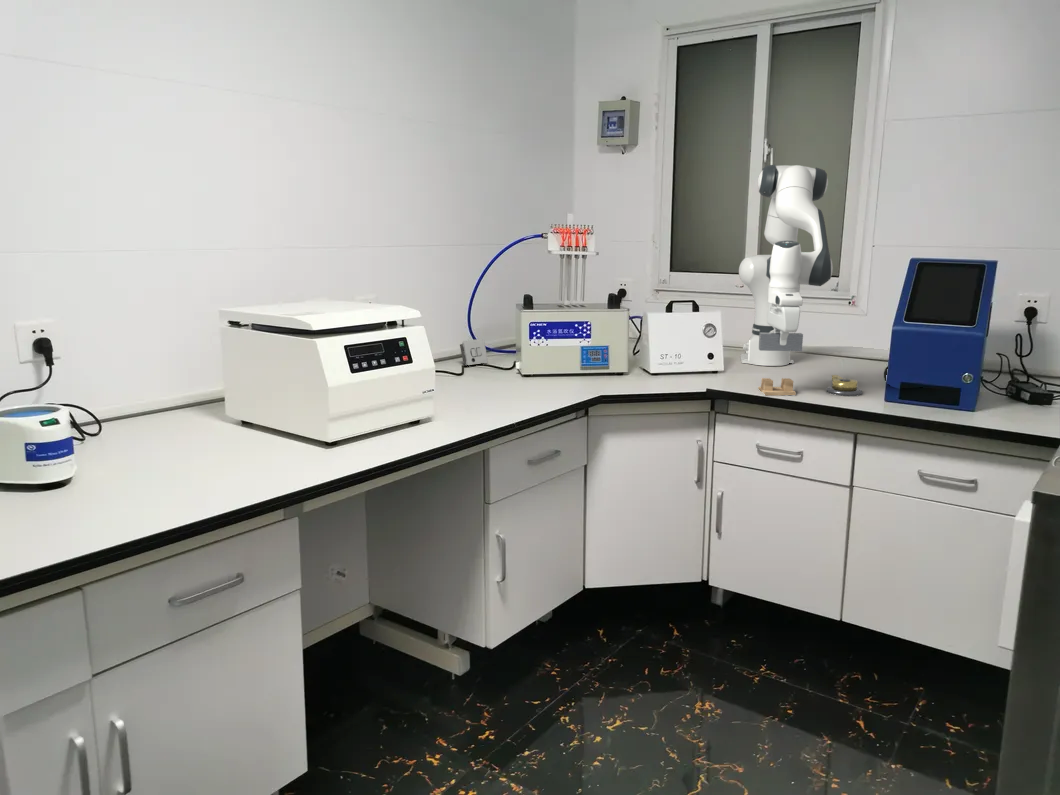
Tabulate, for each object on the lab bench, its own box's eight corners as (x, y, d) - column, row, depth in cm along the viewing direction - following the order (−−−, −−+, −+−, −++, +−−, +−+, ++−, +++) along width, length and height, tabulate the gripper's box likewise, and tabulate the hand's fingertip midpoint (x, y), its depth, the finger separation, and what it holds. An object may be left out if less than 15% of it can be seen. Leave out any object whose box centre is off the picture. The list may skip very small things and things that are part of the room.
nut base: (821, 388, 244) (822, 385, 244) (854, 389, 244) (854, 385, 244) (832, 395, 234) (833, 392, 234) (867, 396, 234) (867, 392, 234)
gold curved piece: (822, 382, 248) (823, 374, 247) (845, 382, 247) (846, 374, 247) (836, 390, 236) (837, 381, 235) (860, 391, 235) (861, 382, 235)
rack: (758, 389, 243) (759, 376, 242) (787, 389, 243) (788, 377, 242) (764, 395, 235) (765, 382, 234) (795, 395, 235) (796, 382, 234)
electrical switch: (468, 367, 281) (466, 341, 279) (459, 366, 285) (457, 340, 283) (488, 364, 287) (486, 338, 286) (479, 363, 291) (478, 338, 289)
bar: (758, 349, 238) (759, 332, 237) (799, 349, 237) (800, 333, 236) (760, 350, 235) (761, 333, 234) (801, 351, 234) (803, 334, 233)
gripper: (763, 294, 243) (760, 338, 246) (782, 300, 223) (779, 348, 226) (784, 294, 243) (781, 338, 245) (804, 300, 223) (801, 348, 225)
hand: (780, 343), depth 235 cm, fingers closed on bar, 3 cm apart
